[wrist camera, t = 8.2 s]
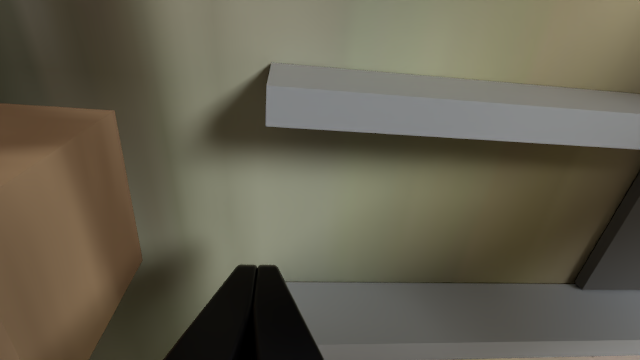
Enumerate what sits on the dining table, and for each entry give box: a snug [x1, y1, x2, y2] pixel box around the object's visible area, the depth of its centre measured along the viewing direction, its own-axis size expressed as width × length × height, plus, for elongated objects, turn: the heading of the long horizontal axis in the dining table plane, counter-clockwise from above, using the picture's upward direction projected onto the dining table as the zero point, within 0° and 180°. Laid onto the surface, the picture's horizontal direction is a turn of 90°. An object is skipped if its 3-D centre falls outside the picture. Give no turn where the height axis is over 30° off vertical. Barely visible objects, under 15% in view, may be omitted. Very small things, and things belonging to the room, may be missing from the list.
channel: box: [266, 63, 640, 360], centre depth 10 cm, size 16×8×2 cm, turn 85°
